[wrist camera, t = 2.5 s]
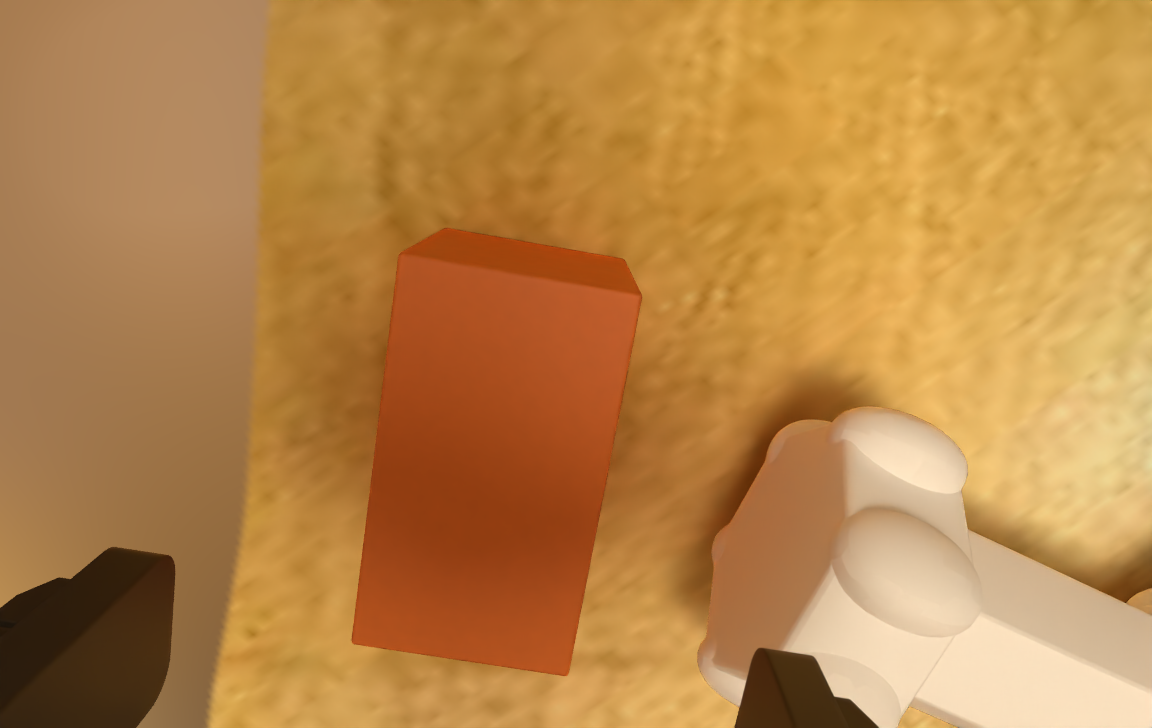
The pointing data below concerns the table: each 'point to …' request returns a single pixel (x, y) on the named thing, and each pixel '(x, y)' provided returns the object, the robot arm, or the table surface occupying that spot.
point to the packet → (493, 448)
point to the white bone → (912, 591)
